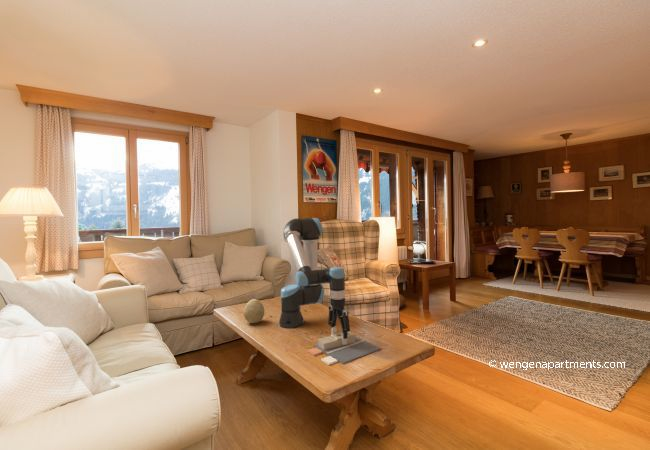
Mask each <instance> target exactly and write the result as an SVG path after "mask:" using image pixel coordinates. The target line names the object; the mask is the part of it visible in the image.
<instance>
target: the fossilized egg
mask: <svg viewBox="0 0 650 450" xmlns="http://www.w3.org/2000/svg"><path fill="white" fill-rule="evenodd" d="M264 316H265V307H264V305H263V303H262V302H261V301H259V300H258V299H256V298H253V299H250V300H249V301H248V302H247V303H246V304H245V306H244V307H243V317H244V320H246V321H247V322H248V323H250V324H257V323H260V322H261V321H262V320H263V318H264Z"/></svg>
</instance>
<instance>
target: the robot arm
mask: <svg viewBox="0 0 650 450" xmlns="http://www.w3.org/2000/svg"><path fill="white" fill-rule="evenodd" d="M323 229H324V228H323V225H322V222H321V220H320V219H319V218H316V217H304V218H292V219H291V220H289V221H288V222H287V223H286V224H285V225H284V228H283V238H284V241H285V242H286V243H287V245H288V249H289V251H290V254H291V257H292V259H293V262H294V266H295V268H296V270H297V271H296V273H295V276H294V278H295V283H296V284H294V283H293V284H288V285H286V286H284V287H282V288H281V289H280V307H281V313H280V317H279V321H278V326H279V325H280V327H281V328H285V329H293V328H298V327H301V326H302V325H304V324H305V322H304V321H305V319H304V317H303V316H304V315H303V314H302V312H301V311H302V310H301V307H302V306H308V305H315V304H320V303H321V302H322V301H323V300H324V297H325V288H324V285H323V284H329V290H330V306H328V325H329V327H330V329H331V334H335V333H338V331H337V320H339V323H340V326H341V332H342V345H345V344H347V332H351V327H350V319H349V313H350V312H349V311H348V310H347V311H346V310H345V306H346V279H345V275H346V274H345V268H344V267H341V266H332V267H324V268H322V269H318V267H319V264H318V242H319V241H320V237H321V236H322V235H323V233H324V232H323Z"/></svg>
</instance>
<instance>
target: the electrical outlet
mask: <svg viewBox="0 0 650 450" xmlns="http://www.w3.org/2000/svg"><path fill="white" fill-rule="evenodd" d="M342 332H343V331H341V332H337V333H335V334H332V333H331V334H330V335H329V336H324V337H320V338H317V344H318V346H320V347H321V348H322V349H323V350H327V349H331V348H335V347H339V346H343V345H342ZM355 336H356V334H354V333H352V332H351V331H349V332H347V344H351V343H355ZM347 344H345V345H347Z"/></svg>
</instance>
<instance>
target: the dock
mask: <svg viewBox="0 0 650 450" xmlns="http://www.w3.org/2000/svg"><path fill="white" fill-rule="evenodd" d="M381 350H382V347H379V346H378V345H375V344H373V343H372V342H368V341H366V339H361V338H360V337H357V336H356V335H355V343H351V344H347V345H343V346H339V347H335V348H331V349H327V350H323V349H322V348H321V347H320V346H318V343H317V344H314V345H313V348H309V349H307V353H308V354H310V355H312V356H313V357H315V356H319V355H321V354H325V355H327V356H325V357H322V358H320V359H321V361H322V362H323V363H325V365H328V366H331V365H334V364H336V363H340V364H342V365H344V364H348V363H349V362H352V361H355V360H357V359H360V358H362V357H365V356H369V355H371V354H373V353H376V352H378V351H381Z"/></svg>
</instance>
